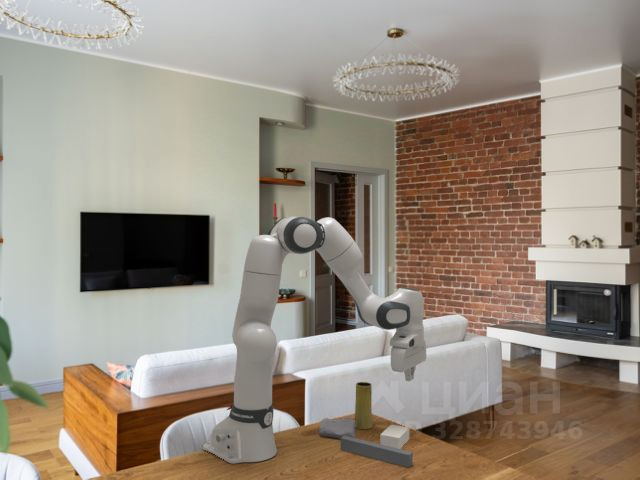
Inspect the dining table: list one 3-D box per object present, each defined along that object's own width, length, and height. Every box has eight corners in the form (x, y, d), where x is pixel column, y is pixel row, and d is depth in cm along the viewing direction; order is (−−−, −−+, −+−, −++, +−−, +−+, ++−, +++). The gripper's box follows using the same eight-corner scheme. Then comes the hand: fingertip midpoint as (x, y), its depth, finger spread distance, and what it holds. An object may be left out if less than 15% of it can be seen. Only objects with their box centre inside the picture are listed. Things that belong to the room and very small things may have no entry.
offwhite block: (380, 447, 166) (380, 434, 166) (391, 436, 175) (391, 424, 175) (399, 451, 164) (399, 438, 163) (409, 440, 172) (409, 427, 172)
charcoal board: (340, 449, 163) (340, 438, 163) (344, 447, 166) (345, 435, 166) (408, 467, 151) (409, 455, 151) (412, 464, 153) (412, 452, 153)
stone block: (355, 445, 172) (356, 428, 182) (355, 431, 171) (355, 415, 181) (317, 445, 173) (320, 428, 183) (317, 431, 172) (319, 414, 182)
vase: (360, 422, 188) (360, 380, 188) (375, 425, 184) (376, 383, 184) (350, 427, 183) (351, 384, 183) (366, 431, 179) (367, 387, 179)
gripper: (413, 331, 188) (413, 371, 188) (387, 341, 171) (386, 385, 171) (431, 333, 184) (430, 374, 184) (405, 343, 167) (405, 389, 167)
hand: (409, 380), depth 178 cm, fingers closed
